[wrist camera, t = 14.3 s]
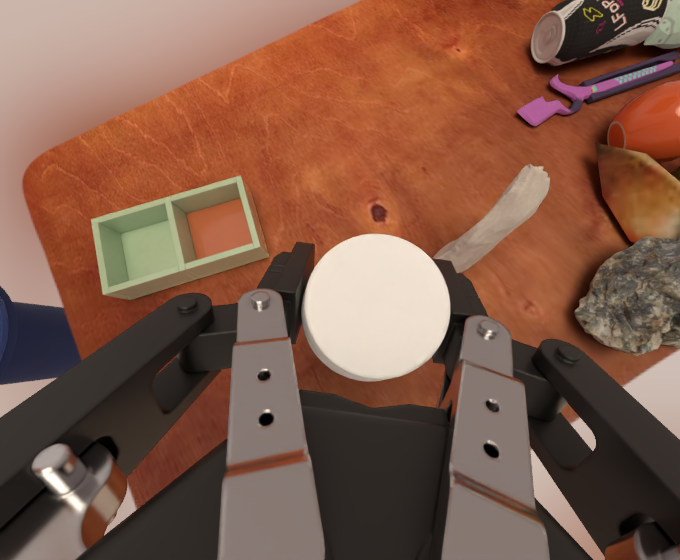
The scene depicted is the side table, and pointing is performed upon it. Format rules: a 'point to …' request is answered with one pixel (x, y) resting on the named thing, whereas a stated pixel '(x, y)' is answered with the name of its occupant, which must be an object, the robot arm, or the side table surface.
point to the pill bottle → (375, 308)
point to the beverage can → (593, 28)
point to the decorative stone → (639, 193)
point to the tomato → (650, 123)
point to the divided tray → (178, 239)
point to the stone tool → (499, 219)
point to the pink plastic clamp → (600, 87)
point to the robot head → (667, 29)
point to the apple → (677, 174)
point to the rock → (635, 298)
